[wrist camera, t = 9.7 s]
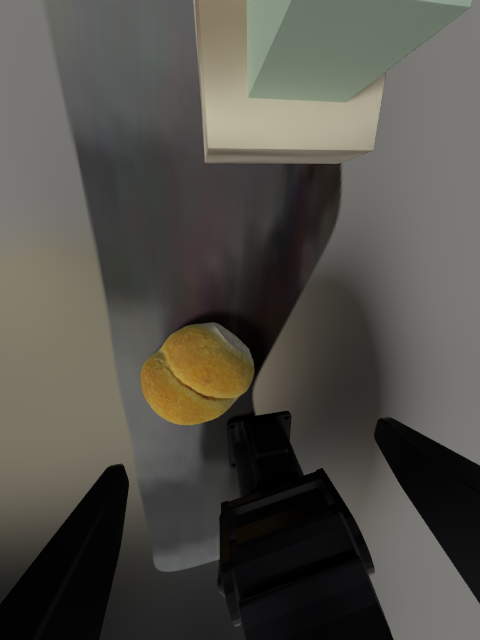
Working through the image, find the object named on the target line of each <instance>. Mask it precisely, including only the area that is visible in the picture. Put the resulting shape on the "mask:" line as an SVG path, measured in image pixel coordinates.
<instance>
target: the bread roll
mask: <svg viewBox="0 0 480 640" xmlns="http://www.w3.org/2000/svg"><path fill="white" fill-rule="evenodd" d="M253 376H254V363H253V359H252V357H251V353H250V350H249V348H247V346H246V345H245V344H244V343H243V342H242V341H241V340H240V339H239V338H238V337H237V336H235V335H234V334H233V333H231V332H230V331H229V330H227V329H225V328H224V327H223V326H221V325H219V324H218V323H213V322H212V323H203V324H193V325H189V326H185V327H183V328H181V329H179V330H178V331H176V332H174V333H173V334H172V335H170V336H169V338H168V339H167V340H166V342H165V343H164V345H163V346H162V347H161V348H160V349H159V350H158V351H157V352H156V353H154V354H153V355H152V356H151V357H150V358H149V359H148V360H147V361H146V362H145V364H144V365H143V368H142V371H141V385H142V390H143V394H144V396H145V398H146V400H147V402H148V403H149V405H150V406H151V408H152V409H153V410H154V411H155V412H156V413H157V414H158V415H160V416H161V417H162V418H164V419H166V420H168V421H170V422H172V423H175V424H180V425H194V424H199V423H203V422H206V421H209V420H212V419H215V418H217V417H219V416H220V415H222V414H223V413H224V412H226V411H227V410H228V409H229V408H230V407H231V405H232V404H233V403H234V402H235V401H236V400H237V398H238V397H239V396H240V395H242V394H243V393H245V392H246V391H247V390H248V388H249V386H250V384H251V382H252V379H253Z"/></svg>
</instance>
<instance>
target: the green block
mask: <svg viewBox="0 0 480 640" xmlns="http://www.w3.org/2000/svg"><path fill="white" fill-rule="evenodd" d="M471 3H472V0H247V82H248V98H262V99H282V100H303V101H324V102H344V103H345V102H347V101H348V100H349V99H350V98H352V97H353V96H354V95H356V94H357V93H358V92H360V91H361V90H362V89H364V88H365V87H366V86H368V85H369V84H370V83H371V82H373V81H374V80H375V79H377V78H378V77H379V76H381V75H382V74H383V73H385V72H386V71H387V70H389V69H390V68H391V67H392V66H394V65H395V64H396V63H397V62H399V61H400V60H402V59H403V58H404V57H406V56H407V55H408V54H410V53H411V52H412V51H413V50H415V49H416V48H417V47H419V46H420V45H421V44H423V43H424V42H425V41H427V40H428V39H429V38H430V37H432V36H433V35H435V34H436V33H437V32H438V31H440V30H441V29H442V28H444V27H445V26H446V25H448V24H449V23H450V22H451V21H453V20H454V19H456V18H457V17H458V16H459V15H461V14H462V13H463V12H465V11H466V10H467V9H469V8H470V7H471Z"/></svg>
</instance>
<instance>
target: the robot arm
mask: <svg viewBox="0 0 480 640" xmlns="http://www.w3.org/2000/svg"><path fill="white" fill-rule="evenodd" d="M285 416H286V417H285ZM290 429H291V414H290V412H289V411H283V412H276V413H270V414H264V415H257V416H251V417H245V418H238V419H232V420H229V421H228V422H227V435H228V450H229V464H230V467H231V468H236V470H237V476H238V482H239V488H240V494H241V498H238V499H235V500H232V501H229V502H228V501H225V502H222V503H221V514H220V518H219V521H220V559H219V569H218V578H217V584H218V590H219V592H220V593H221V594H222V595H223V596H224V597H225V599H226V602H227V606H228V609H229V613H230V616H231V620H232V622H233V624H234V626H238V625H242V630H243V635H244V640H394V639H393V637H392V635H391V631H390V628H389V626H388V624H387V621H386V618H385V616H384V613H383V610H382V608H381V605H380V603H379V600H378V598H377V596H376V593H375V590H374V588H373V585H372V583H371V580H370V577H369V576H370V575H372V574H374V572H375V571H374V565H373V562H372V558H371V555H370V553H369V550H368V547H367V545H366V543H365V540H364V538H363V536H362V533H361V531H360V529H359V527H358V525H357V523H356V521H355V519H354V518H353V516H352V514H351V512H350V511H349V509H348V507H347V506H346V504H345V503H344V501H343V500H342V498H341V497H340V495H339V493H338V492H337V490H336V489H335V487H334V486H333V484H332V482H331V481H330V479H329V477H328V476H327V474H326V473H325V471H324V470H323V468H321V469H318V470H316V472H313V473H310V474H307V475H304V474H303V471H302V469H301V467H300V464H299V462H298V460H297V457H296V455H295V453H294V450H293V448H292V446H291V444H290ZM374 438H375V441H376V442H377V444H378V446H379V448H380V450H381V451H382V453H383V455H384V457H385V459H386V461H387V462H388V464H389V466H390V468H391V469H392V471H393V473H394V475H395V477H396V478H397V480H398V482H399V483H400V485H401V487H402V488H403V490H404V491H405V493H406V494H407V496H408V497H409V499H410V500H411V502H412V503H413V505H414V506H415V508H416V509H417V511H418V512H419V514H420V515H421V517H422V518H423V519H424V521H425V522H426V524H427V525H428V527H429V529H430V530H431V531H432V533H433V534H434V536H435V537H436V539H437V541H438V542H439V544H440V545H441V547H442V548H443V550H444V551H445V552H446V554H447V555H448V557H449V558H450V560H451V561H452V563H453V564H454V566H455V567H456V569H457V570H458V572H459V573H460V575H461V576H462V578H463V579H464V581H465V582H466V584H467V585H468V587H469V588H470V590H471V591H472V593H473V594H474V596H475V597H476V599H477V600H478V602H479V603H480V466H479V465H478V464H476V463H474V462H472V461H470V460H468V459H467V458H465V457H463V456H461V455H459V454H457V453H455V452H454V451H452V450H450V449H448V448H446V447H445V446H443V445H441V444H439V443H437V442H435V441H433V440H432V439H430V438H428V437H426V436H424V435H422V434H421V433H419V432H417V431H415V430H413V429H411V428H410V427H408V426H406V425H404V424H402V423H400V422H398V421H397V420H395V419H393V418H391V417H385V418H380V419H379V420H378V421H377V425H376V429H375V433H374ZM128 489H129V481H128V477H127V474H126V471H125V468H124V465H123V464H116V465H111V466H109V467H108V468H107V469H106V470H105V471H104V472H103V474H102V475H101V476H100V477H99V479H98V480H97V481H96V483H95V484H94V485H93V487H92V488H91V489H90V490H89V491H88V493H87V494H86V495H85V496H84V498H83V499H82V500H81V501H80V503H79V504H78V505H77V507H76V508H75V509H74V510H73V512H72V513H71V514H70V516H69V517H68V518H67V519H66V520H65V522H64V523H63V525H62V526H61V527H60V528H59V529H58V531H57V532H56V533H55V534H54V536H53V537H52V538H51V540H50V541H49V542H48V543H47V545H46V546H45V547H44V549H43V550H42V551H41V552H40V554H39V555H38V556H37V558H36V559H35V560H34V561H33V562H32V564H31V565H30V566H29V568H28V569H27V570H26V571H25V573H24V574H23V575H22V576H21V578H20V579H19V580H18V582H17V583H16V584H15V585H14V587H13V588H12V589H11V591H10V592H9V593H8V594H7V596H6V597H5V598H4V599H3V601H2V602H1V603H0V640H99V639H100V635H101V631H102V626H103V622H104V618H105V613H106V609H107V604H108V600H109V596H110V592H111V587H112V583H113V578H114V574H115V570H116V566H117V561H118V557H119V551H120V547H121V540H122V534H123V526H124V519H125V511H126V504H127V497H128Z"/></svg>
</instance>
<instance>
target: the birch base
mask: <svg viewBox="0 0 480 640" xmlns="http://www.w3.org/2000/svg"><path fill="white" fill-rule="evenodd" d="M193 1H194V15H195V28H196V42H197V56H198V70H199V84H200V98H201V111H202V125H203V139H204V153H205V163H310V164H339V163H341V162H344V161H346V160H349V159H352V158H354V157H357V156H360V155H363V154H365V153H368V152H370V151H373V149H374V143H375V137H376V131H377V125H378V118H379V112H380V105H381V99H382V93H383V88H384V81H385V75H386V72H385V73H383V74H382V75H381V76H379V77H378V78H377V79H375V80H374V81H373V82H371V83H370V84H369V85H368V86H366V87H365V88H364V89H362V90H361V91H360V92H358V93H357V94H356V95H354V96H353V97H352V98H350V99H349V100H348V101H347V102H345V103H344V102H324V101H303V100H282V99H262V98H248V82H247V0H193Z"/></svg>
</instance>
